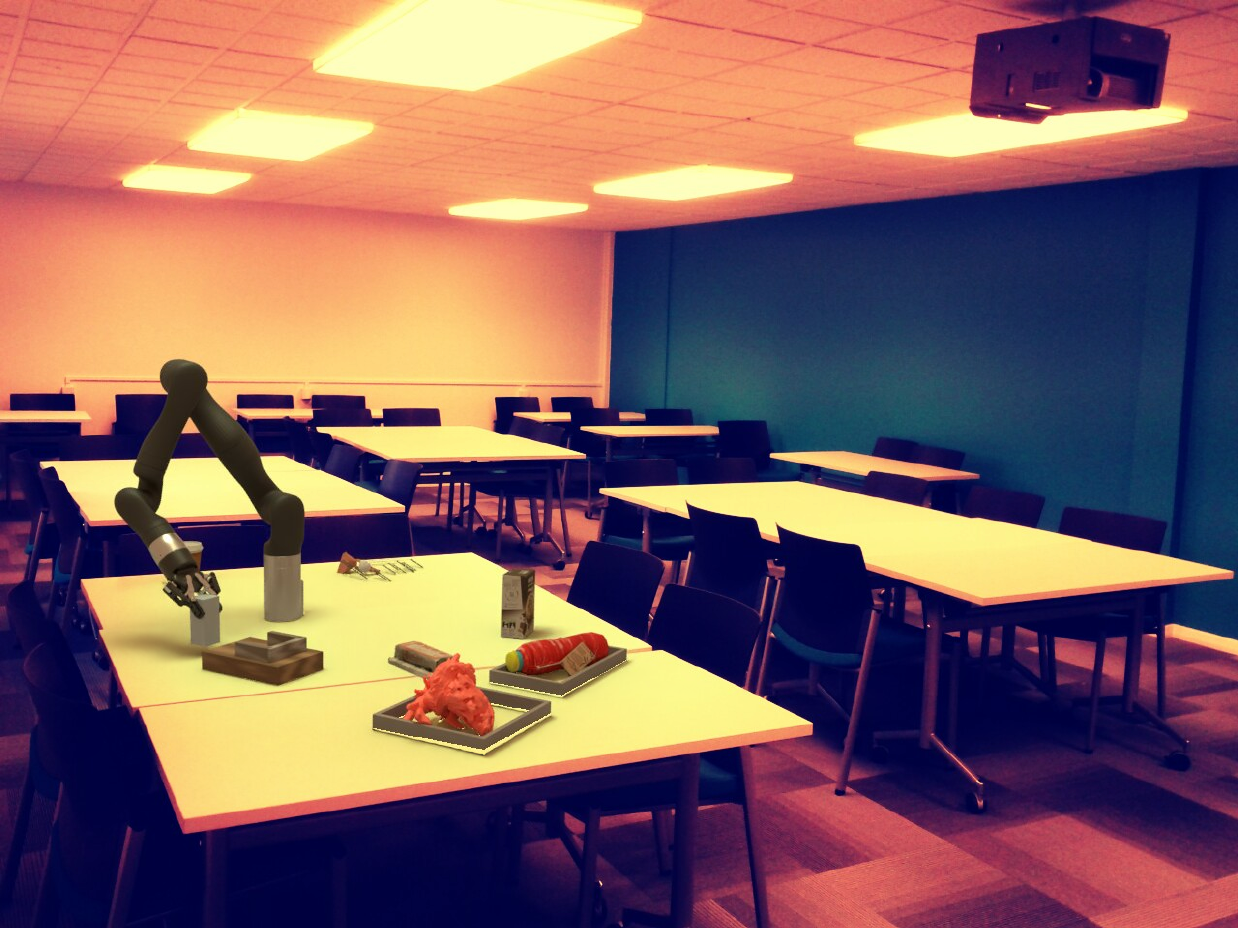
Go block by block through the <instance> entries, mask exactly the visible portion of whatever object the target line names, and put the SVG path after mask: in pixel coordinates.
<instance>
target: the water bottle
mask: <svg viewBox="0 0 1238 928" xmlns="http://www.w3.org/2000/svg"><path fill="white" fill-rule="evenodd" d="M609 646H610V645H609V643H608V639H607V638H606V637H605V636H604V635H603V634H601V633H596V632H593V631H590V632H582V633H577V634H574V635H569V636H565V637H561V638H560V637H558V638H549V639H548V638H546V639H537V640H533V641H528V642H525V643H522V644H521V645H520V646H518V648H517V649H515V650H512V651H509V652H507V653H506V654H505V658H504V659H505V662H504V663H505V664H506V667H507V669H508V671H510V672H516V671H517V672H518V673H519V674H520V675H526V676H531V677H536V676H543V675H547V674H549V675H550V674H552V673H556V672H559V671H563V670H564V671H565V672H566V674H567V675H568V676H569V677H570V676H572V675H574V674H576V673H578V672H580V671H581V670H583V669H585V668H587V667H589V666H591V665H593V664H594V663H596V662H598V661H600V660H602V659H604V658H605V657H607V656H608V653H609Z"/></svg>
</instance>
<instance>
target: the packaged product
mask: <svg viewBox="0 0 1238 928" xmlns="http://www.w3.org/2000/svg"><path fill="white" fill-rule="evenodd" d="M394 646H395V647H394V652H393V653H394V656H392V657H388V658H387V664H390V665H392V666H394V665H395V666H394V667H397V668H399V669H401V670H403V671H406V672H408V673H410V674H412V675H414V676H417V677H419V678H421V679H423V677H424V676H426V678H427V680H429V679H430V678H428V677H427V674H428V673H430V676H432V674H433V673H434V671H435V669H436V668H437V667H438V666H439V665H440V664H441V663H443V662H446V661H447V659H448V658H450V659H452V658H453V655H454V654H453V655H452V654H450V653H448V652H445V651H443V650H440V649H439V648H435V647H434V646H431V645H428V644H427V643H424V642H422V641H417V640H411V641H408V642H401V643H398V644H395V645H394Z"/></svg>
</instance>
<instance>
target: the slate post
mask: <svg viewBox="0 0 1238 928" xmlns="http://www.w3.org/2000/svg"><path fill="white" fill-rule="evenodd" d="M195 599H196V601H197V602H198V603H199V605H200V606H201V608H202V609H203V611H204V612H205V615H204V616H203V618H202V619H198V618H197V617H195V616H194V614H193V613H192V611H191V610H190V609H189V623H190V627H189V628H190V645H192V646H193V645H194V646H198V647H203V648H206V647H210V646H213V645H216V644H218V643H221V622H220V621H221V619H220V617H221V612H220V611H219V607H220V606H219V602H220V595H217V596H216V595H211V594H209V593H207V594H201V595H198V594H197V595H195Z"/></svg>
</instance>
